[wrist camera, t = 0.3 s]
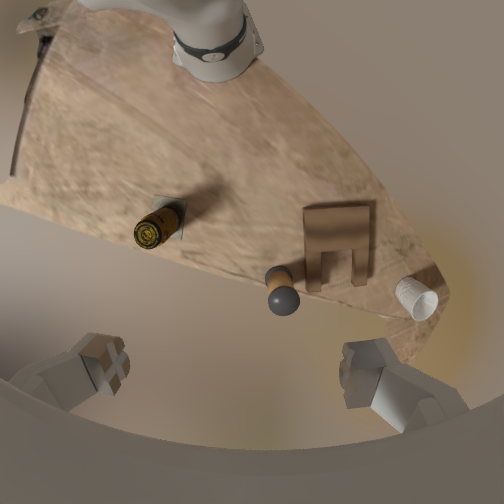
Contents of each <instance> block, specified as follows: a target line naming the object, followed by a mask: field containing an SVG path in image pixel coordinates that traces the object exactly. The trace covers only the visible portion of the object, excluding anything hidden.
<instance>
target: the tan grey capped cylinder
mask: <svg viewBox="0 0 504 504" xmlns="http://www.w3.org/2000/svg"><path fill="white" fill-rule="evenodd" d="M265 282H266V285H267V287H268V291H269V298H268V304H269V307H270V310H271V311H272V312H273V313H274V314H276V315H279V316H287V315H290V314H292V313H294V312H295V311H296V310H297V309H298V307H299V305H300V298H299V295H298V293H297V291H296V290H295V289H294V286H293V283H292V276H291V273H290V271H289V270H288V269H287V268H285V267H282V266H276V267H273V268H271V269H270V270H269V271H268V272H267V273H266V276H265Z"/></svg>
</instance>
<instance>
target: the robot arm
mask: <svg viewBox="0 0 504 504" xmlns="http://www.w3.org/2000/svg"><path fill="white" fill-rule="evenodd" d="M77 1H78V2H79V3H80V4H81V5H83V6H84V7H86V8H88V9H91V10H95V11H99V10H109V9H126V10H134V11H140V12H144V13H147V14H151V15H154V16H156V17H159V18H161V19H163V20H165V21H166V22H167V23H168V24H169V25H170V26H171V28H172V29H173V30H174V41H176V42H175V45H174V55H173V62H174V63H175V64H176V65H178V66H181V67H184V68H185V69H187V70H188V71H189V72H190V73H191V74H192V75H193V76H194V77H196V78H198V79H200V80H203V81H207V82H222V81H227V80H230V79H232V78H235V77H236V76H238V75H240V74H241V73H242V72H244V71H245V70H246V68H247V67H248V66H249V64H250V63H251V61H252V60H253V59H254V58H255V57H257V56H259V55H260V54H261V53H263V51H264V46H263V44H262V42H261V39H260V36H259V34H258V32H257V29H256V27H255V24H254V22H253V20H252V17H251V15H250V13H249V10H248V8H247V6H246V4H245V3H244V2H243V0H77ZM256 43H257V44H258V45H255V44H256ZM124 347H125V345H124V342H123V339H122V338H120V337H117V336H111V335H105V334H99V333H93V332H89V333H87V334H86V335H85V336H84V337H83V338H82V339H81V340H80V341H79V342H78V343H77V344H76V345H75V346H74V347H73V348H72V349H71V350H70V351H69V352H63V353H61V354H58V355H56V356H53V357H50V358H47V359H45V360H42V361H40V362H37V363H34V364H32V365H29V366H26V367H24V368H22V369H21V370H20V371H19V372H18V373H17V374H16V375H15V376H14V377H13V378H12V379H11V380H10V381H9V382H6V381H4V380H3V379H1V378H0V504H504V394H503V395H502V396H499V397H497V398H495V399H493V400H491V401H490V402H487V403H485V404H483V405H481V406H479V407H477V408H474V409H472V410H469V408H468V407H467V405H466V403H465V402H464V400H463V399H462V397H461V396H460V394H459V393H458V391H457V390H456V389H455V388H453V387H451V386H449V385H447V384H445V383H443V382H441V381H439V380H437V379H435V378H433V377H431V376H429V375H427V374H425V373H423V372H421V371H419V370H417V369H415V368H413V367H411V366H409V365H407V364H401V362H400V361H399V359H398V357H397V356H396V354H395V352H394V351H393V349H392V348H391V346H390V344H389V343H388V341H387V339H385V338H379V339H373V340H367V341H358V342H348V343H344V345H343V350H342V353H343V357H344V359H343V360H342V361H341V362H340V368H339V379H340V384H341V387H342V388H344V389H345V392H344V399H345V402H346V406H347V409H351V408H360V407H367V406H371V408H372V409H373V410H374V411H376V412H377V413H378V414H379V415H380V416H381V417H382V418H384V419H385V420H386V421H387V422H388V423H390V424H391V425H392V426H393V427H394V428H395V429H397V430H398V431H399V432H400V433H401V434H398V435H394V436H389V437H385V438H381V439H376V440H371V441H365V442H359V443H353V444H347V445H339V446H331V447H322V448H310V449H296V450H295V449H294V450H243V449H227V448H215V447H205V446H197V445H190V444H183V443H177V442H171V441H166V440H161V439H156V438H151V437H146V436H142V435H138V434H134V433H130V432H126V431H123V430H119V429H116V428H112V427H109V426H106V425H103V424H99V423H96V422H94V421H91V420H88V419H85V418H82V417H80V416H77V415H74V414H72V413H69V412H68V411H70V410H71V409H73V408H74V407H76V406H78V405H79V404H81V403H82V402H84V401H85V400H87V399H88V398H90V397H91V396H93V395H95V394H96V393H97V392H100V393H104V394H109V395H113V396H115V394H116V393H117V391H118V389H119V388H120V386H121V382H120V381H121V380H123V379H124V378H126V377H127V375H128V373H129V370H130V360H129V357H128V355H127V354H126V353H125V352H124V351H123V350H124Z"/></svg>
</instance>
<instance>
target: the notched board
mask: <svg viewBox="0 0 504 504" xmlns="http://www.w3.org/2000/svg"><path fill="white" fill-rule="evenodd" d="M369 220H370V211H369V206H368V205H366V204H358V205H340V206H325V207H310V208H303V226H304V249H305V283H306V290H307V292H308V293H311V292H320V291H321V252H328V251H338V250H348V249H352V277H351V283H352V284H353V285H354V286H355V287H358V286H365V285H367V275H368V258H369Z"/></svg>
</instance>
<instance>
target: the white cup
mask: <svg viewBox="0 0 504 504" xmlns="http://www.w3.org/2000/svg"><path fill="white" fill-rule="evenodd" d="M396 296H397V299H398V300H399V301H400V302H401V304H402V305H403V306H404V308H405V309H406V310H407V311H408V312H409V314H410V315H411V316H412V317H413V319H414V320H416V321H424V320H426V319H427V318H429V317H430V316H431V315H432V314H433V313H434V311H435V309H436V307H437V304H438V296H437V294H436V293H435V292H434V291H433V290H431V289H430V288H428V287H427V286H425V285H424V284H423V283H421V282H419V281H417V280H415V279H414V278H412V277H405V278H403V279H402V280H401V281H400V282H399V283H398V285H397V287H396Z"/></svg>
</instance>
